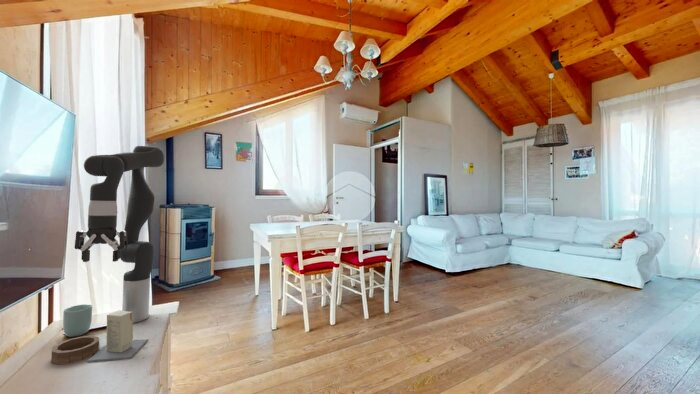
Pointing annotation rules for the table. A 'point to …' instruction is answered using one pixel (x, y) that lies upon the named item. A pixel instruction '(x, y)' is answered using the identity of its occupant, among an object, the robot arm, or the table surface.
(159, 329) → the table surface
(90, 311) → the cup
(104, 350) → the mat
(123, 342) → the skincare box
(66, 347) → the holder ring
